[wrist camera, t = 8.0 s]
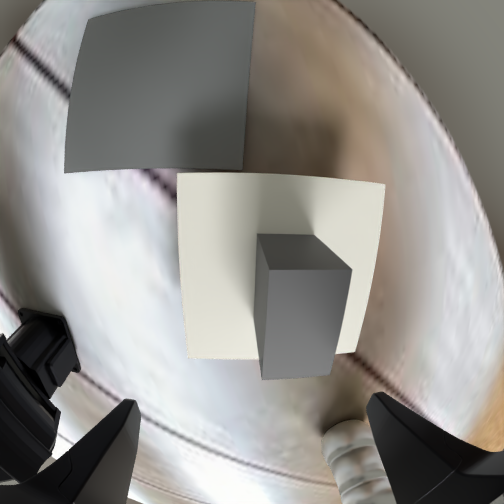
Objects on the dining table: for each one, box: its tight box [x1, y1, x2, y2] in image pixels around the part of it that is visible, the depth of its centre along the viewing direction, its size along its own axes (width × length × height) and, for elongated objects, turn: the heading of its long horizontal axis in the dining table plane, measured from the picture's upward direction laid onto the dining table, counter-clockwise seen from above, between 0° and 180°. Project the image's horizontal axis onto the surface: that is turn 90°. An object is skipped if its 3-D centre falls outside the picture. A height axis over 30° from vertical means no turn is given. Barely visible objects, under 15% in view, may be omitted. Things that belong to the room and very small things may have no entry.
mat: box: [64, 1, 256, 173], centre depth 14 cm, size 13×13×1 cm
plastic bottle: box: [321, 419, 396, 504], centre depth 17 cm, size 6×7×20 cm
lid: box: [177, 172, 385, 380], centre depth 13 cm, size 11×11×6 cm
